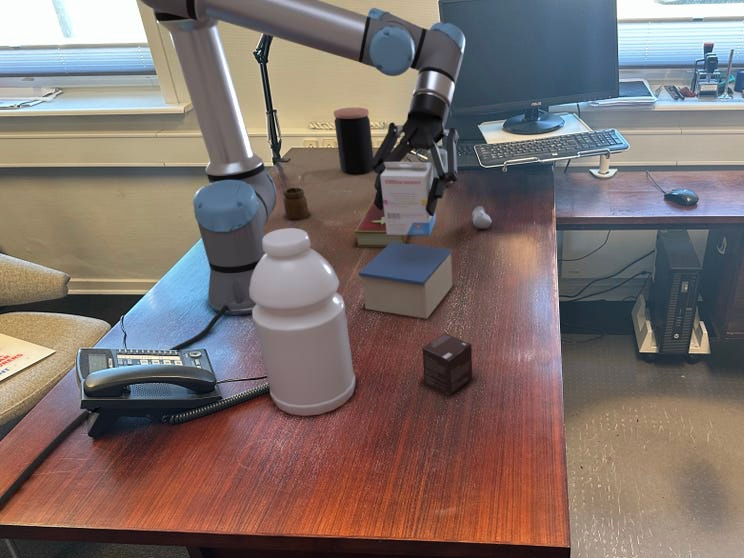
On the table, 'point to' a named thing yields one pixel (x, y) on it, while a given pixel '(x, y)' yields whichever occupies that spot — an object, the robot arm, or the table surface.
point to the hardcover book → (375, 230)
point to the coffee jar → (354, 140)
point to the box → (447, 363)
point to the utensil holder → (295, 202)
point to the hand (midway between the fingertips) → (403, 209)
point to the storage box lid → (405, 263)
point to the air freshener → (444, 160)
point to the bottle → (301, 326)
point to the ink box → (407, 198)
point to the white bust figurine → (481, 218)
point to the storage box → (408, 293)
